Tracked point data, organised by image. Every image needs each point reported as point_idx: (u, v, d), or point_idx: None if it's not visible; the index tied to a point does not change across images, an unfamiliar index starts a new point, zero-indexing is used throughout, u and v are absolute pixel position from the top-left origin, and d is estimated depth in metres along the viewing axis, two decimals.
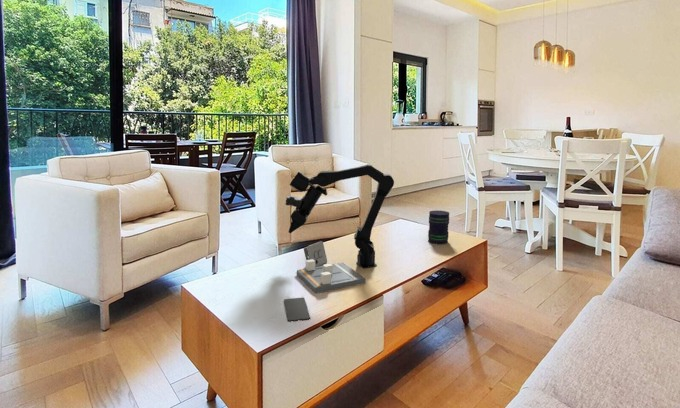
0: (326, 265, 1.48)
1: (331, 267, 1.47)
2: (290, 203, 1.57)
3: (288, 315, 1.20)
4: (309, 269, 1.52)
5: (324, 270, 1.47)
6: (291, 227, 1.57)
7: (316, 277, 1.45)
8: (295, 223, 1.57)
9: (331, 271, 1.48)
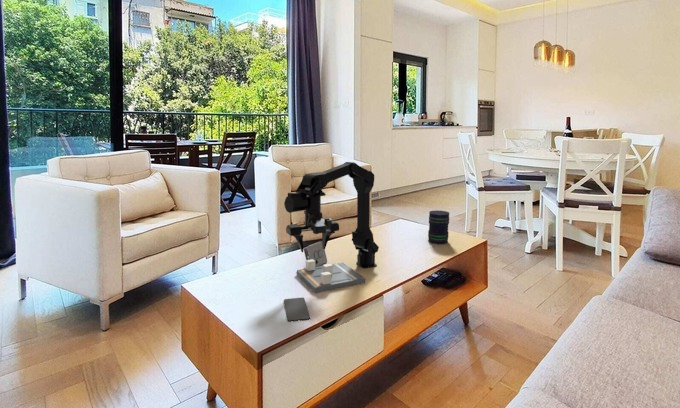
0: (326, 265, 1.48)
1: (331, 267, 1.47)
2: None
3: (288, 315, 1.20)
4: (309, 269, 1.52)
5: (324, 270, 1.47)
6: None
7: (316, 277, 1.45)
8: None
9: (331, 271, 1.48)
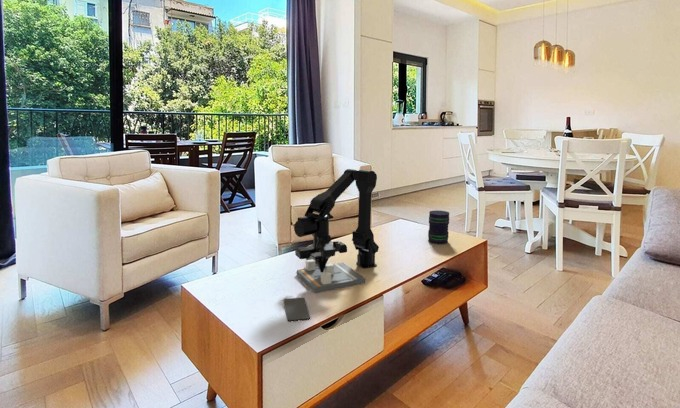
0: (327, 265, 1.48)
1: (332, 267, 1.48)
2: None
3: (288, 315, 1.20)
4: (309, 269, 1.52)
5: (325, 270, 1.48)
6: None
7: (316, 277, 1.45)
8: None
9: (332, 271, 1.48)
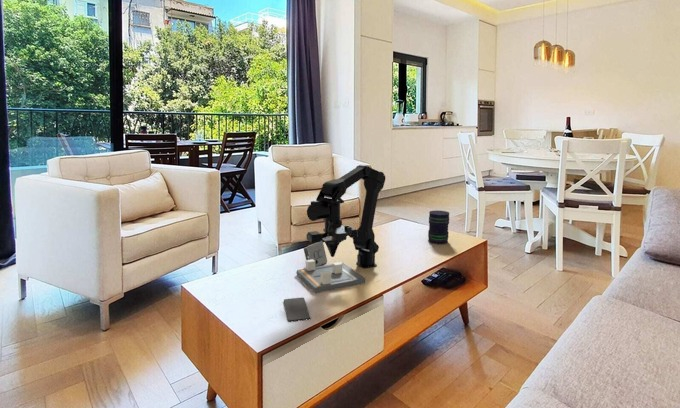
0: (336, 263, 1.49)
1: (341, 265, 1.49)
2: None
3: (288, 315, 1.20)
4: (309, 269, 1.52)
5: (334, 268, 1.49)
6: None
7: (316, 277, 1.45)
8: None
9: (341, 269, 1.49)
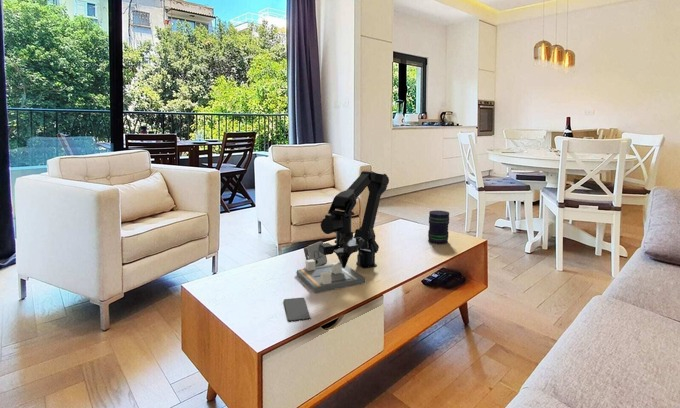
0: (335, 263, 1.49)
1: (340, 265, 1.49)
2: None
3: (288, 314, 1.20)
4: (309, 269, 1.52)
5: (333, 268, 1.49)
6: None
7: (316, 277, 1.45)
8: None
9: (340, 269, 1.49)
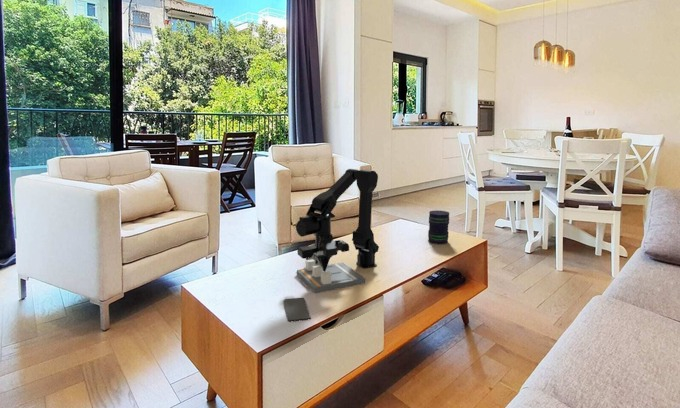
0: (316, 267, 1.46)
1: (321, 269, 1.46)
2: None
3: (288, 315, 1.20)
4: (309, 269, 1.52)
5: (314, 272, 1.46)
6: None
7: (316, 277, 1.45)
8: None
9: None
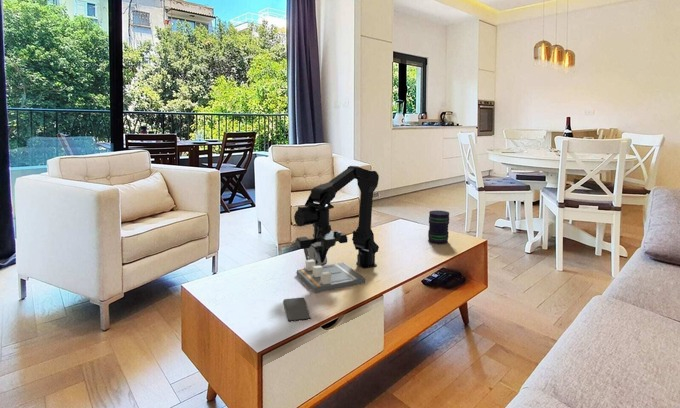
0: (316, 267, 1.46)
1: (321, 269, 1.46)
2: None
3: (288, 315, 1.20)
4: (309, 269, 1.52)
5: (314, 272, 1.46)
6: None
7: (316, 277, 1.45)
8: None
9: None
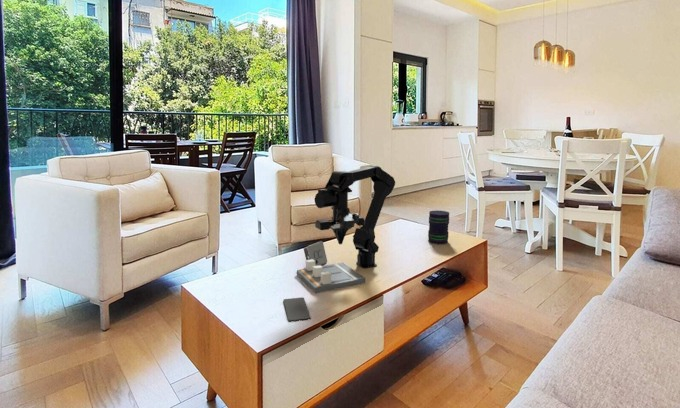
0: (316, 267, 1.46)
1: (321, 269, 1.46)
2: None
3: (288, 315, 1.20)
4: (309, 269, 1.52)
5: (314, 272, 1.46)
6: None
7: (316, 277, 1.45)
8: None
9: None
